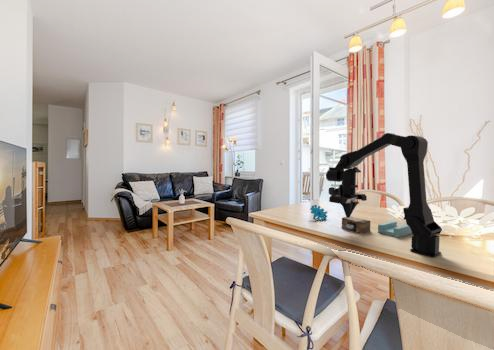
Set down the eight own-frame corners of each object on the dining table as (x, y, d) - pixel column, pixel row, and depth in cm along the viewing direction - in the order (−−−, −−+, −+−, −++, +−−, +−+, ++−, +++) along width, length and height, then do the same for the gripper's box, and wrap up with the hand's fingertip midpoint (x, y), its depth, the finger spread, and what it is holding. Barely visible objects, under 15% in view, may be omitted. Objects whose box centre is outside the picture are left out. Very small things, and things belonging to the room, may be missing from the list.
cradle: (412, 232, 97) (412, 225, 97) (397, 237, 91) (398, 228, 91) (392, 228, 104) (392, 221, 104) (377, 232, 98) (378, 224, 98)
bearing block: (370, 230, 100) (370, 220, 100) (362, 233, 97) (362, 222, 97) (349, 225, 109) (349, 216, 109) (341, 227, 106) (341, 217, 106)
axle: (362, 227, 108) (360, 221, 109) (368, 226, 105) (365, 220, 106) (346, 231, 102) (344, 225, 103) (352, 230, 99) (349, 223, 100)
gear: (315, 219, 115) (309, 203, 122) (309, 225, 119) (303, 209, 126) (332, 220, 120) (324, 204, 126) (326, 225, 123) (319, 210, 130)
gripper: (346, 180, 111) (345, 211, 112) (319, 182, 102) (319, 215, 102) (367, 182, 101) (366, 216, 102) (340, 183, 92) (340, 221, 93)
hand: (347, 217), depth 100 cm, fingers closed
